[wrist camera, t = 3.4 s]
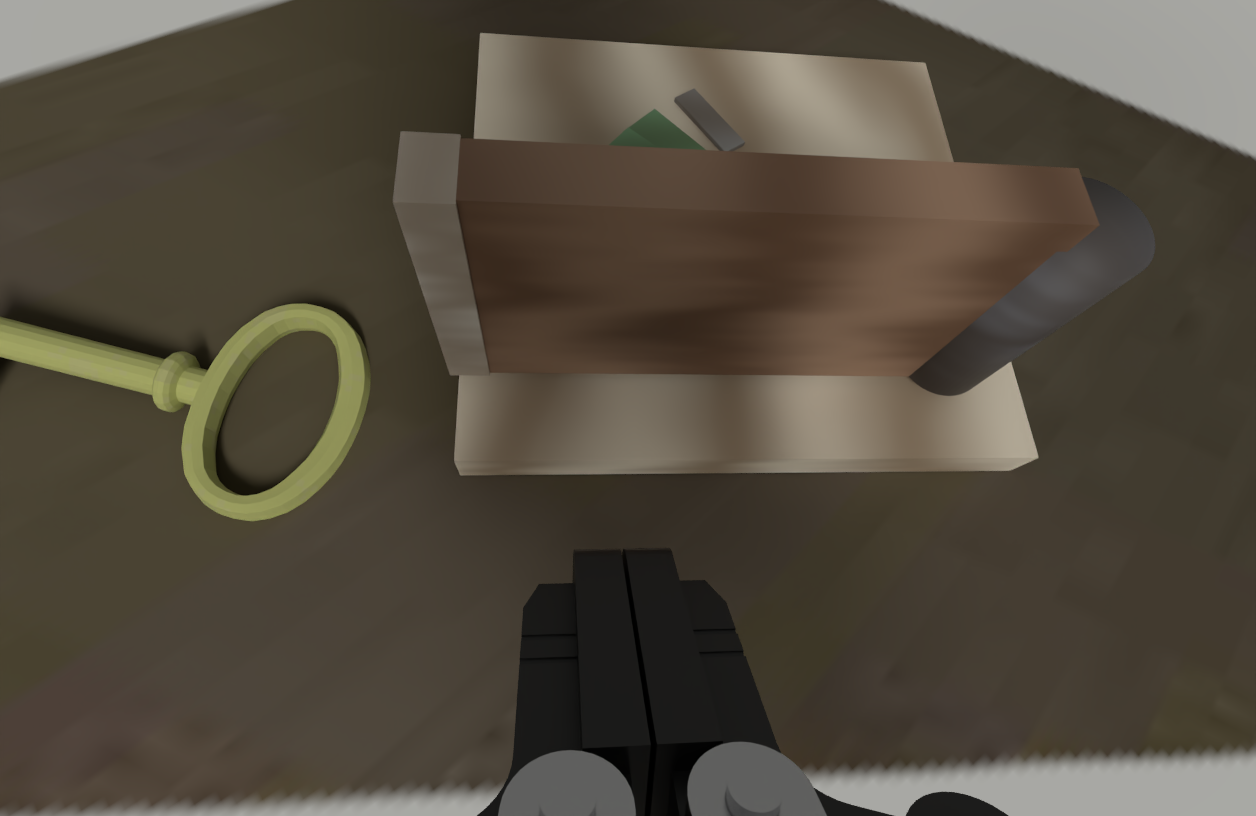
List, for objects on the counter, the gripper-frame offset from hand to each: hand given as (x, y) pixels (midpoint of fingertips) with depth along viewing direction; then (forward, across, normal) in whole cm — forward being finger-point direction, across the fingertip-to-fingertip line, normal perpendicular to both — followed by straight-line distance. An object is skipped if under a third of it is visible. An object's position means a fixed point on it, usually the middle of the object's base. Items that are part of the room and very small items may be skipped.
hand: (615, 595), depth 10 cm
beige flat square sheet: (+17, -6, -3) cm, 18 cm away
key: (+13, +13, +2) cm, 19 cm away
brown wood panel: (+12, -5, 0) cm, 13 cm away
